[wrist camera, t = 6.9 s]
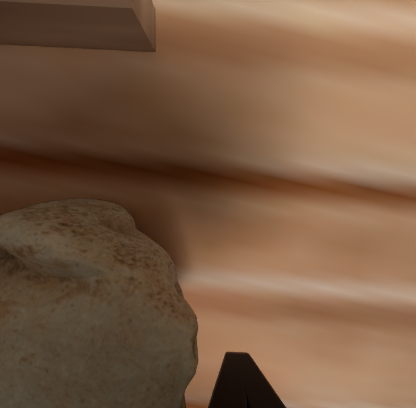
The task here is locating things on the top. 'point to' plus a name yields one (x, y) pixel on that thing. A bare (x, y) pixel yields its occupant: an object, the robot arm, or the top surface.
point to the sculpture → (90, 311)
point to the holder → (79, 24)
